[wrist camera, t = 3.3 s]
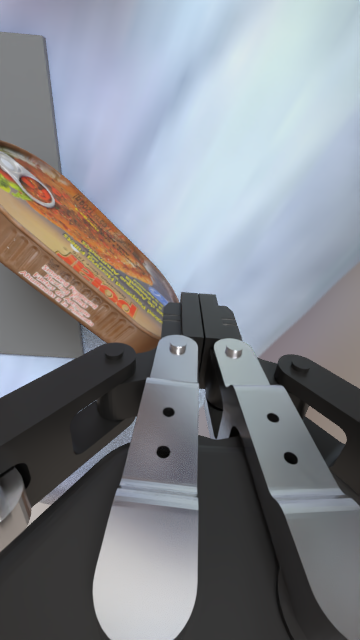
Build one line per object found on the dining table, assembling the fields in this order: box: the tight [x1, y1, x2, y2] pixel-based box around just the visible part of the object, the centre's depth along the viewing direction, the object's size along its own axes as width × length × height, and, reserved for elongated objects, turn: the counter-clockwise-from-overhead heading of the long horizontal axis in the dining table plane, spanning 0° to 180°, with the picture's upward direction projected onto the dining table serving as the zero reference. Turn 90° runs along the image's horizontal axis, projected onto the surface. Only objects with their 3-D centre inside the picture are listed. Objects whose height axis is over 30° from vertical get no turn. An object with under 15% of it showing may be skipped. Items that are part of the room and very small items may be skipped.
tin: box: [0, 140, 179, 354], centre depth 18 cm, size 15×3×8 cm, turn 42°
